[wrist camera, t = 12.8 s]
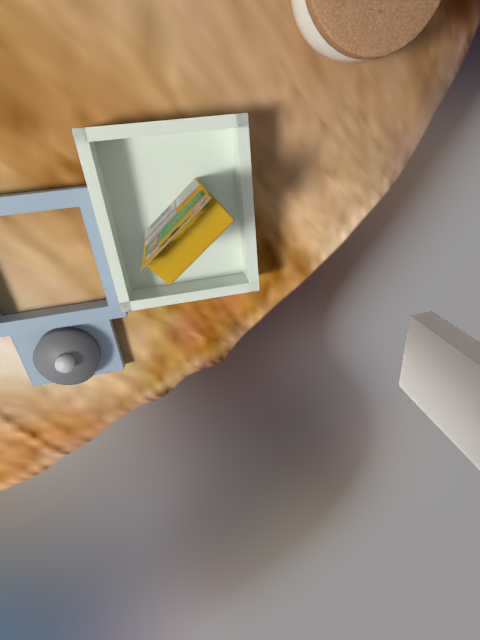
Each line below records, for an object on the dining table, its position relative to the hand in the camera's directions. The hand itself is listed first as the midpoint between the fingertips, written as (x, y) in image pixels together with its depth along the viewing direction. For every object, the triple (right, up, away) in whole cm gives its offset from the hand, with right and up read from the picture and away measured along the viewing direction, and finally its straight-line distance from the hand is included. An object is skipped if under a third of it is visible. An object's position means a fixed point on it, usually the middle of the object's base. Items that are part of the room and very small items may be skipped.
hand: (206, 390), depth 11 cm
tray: (-5, +13, +25) cm, 29 cm away
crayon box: (-5, +12, +24) cm, 28 cm away
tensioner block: (-18, +5, +26) cm, 32 cm away
